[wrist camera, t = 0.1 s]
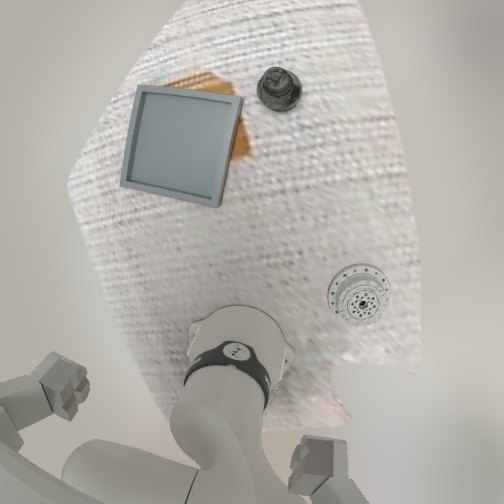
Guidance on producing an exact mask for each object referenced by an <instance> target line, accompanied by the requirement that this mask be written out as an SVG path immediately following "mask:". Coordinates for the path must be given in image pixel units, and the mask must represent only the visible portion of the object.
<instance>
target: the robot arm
mask: <svg viewBox="0 0 504 504" xmlns="http://www.w3.org/2000/svg"><path fill="white" fill-rule="evenodd" d="M188 332H189V344H190V347H189V349H188V352H187V356H188V357H189V369H188V371H187V373H186V377H185V380H184V388H183V390H182V392H181V394H180V396H179V398H178V400H177V402H176V404H175V406H174V408H173V410H172V413H171V417H170V427H171V432H172V434H173V437H174V438H175V440H176V442H177V444H178V445H179V446H180V448H181V449H182V450H183V452H184V453H186V454H187V455H188V456H189V457H190V458H191V459H192V460H194V461H195V462H196V463H197V464H198V465H199V466H200V467H201V468H202V469H197V468H193V467H190V466H186V465H183V464H180V463H177V462H174V461H171V460H169V459H166V458H163V457H160V456H157V455H154V454H152V453H149V452H146V451H144V450H141V449H139V448H134V447H130V446H126V445H122V444H118V443H113V442H108V441H105V440H100V439H94V440H91V441H88V442H86V443H84V444H82V445H81V446H79V447H78V448H76V449H75V450H74V451H73V452H72V453H71V455H70V456H69V458H68V459H67V461H66V462H65V465H64V467H63V470H62V477H61V480H60V479H58V478H56V477H54V476H53V475H51V474H49V473H48V472H46V471H45V470H43V469H41V468H40V467H38V466H37V465H35V464H34V463H32V462H31V461H29V460H28V459H26V458H25V457H23V456H22V455H20V454H19V453H18V451H19V450H20V448H21V447H22V445H23V443H24V442H23V439H22V438H21V436H20V435H19V433H18V431H19V430H21V429H23V428H26V427H27V426H30V425H32V424H34V423H36V422H38V421H40V420H42V419H44V418H46V417H48V416H50V415H52V414H53V413H54V414H56V415H58V416H60V417H62V418H64V419H66V420H68V421H70V422H71V420H72V418H73V417H74V416H75V414H76V413H77V411H78V404H81V403H83V402H84V401H85V400H86V398H87V396H88V394H89V391H90V383H89V381H88V379H87V378H86V375H87V370H86V368H85V367H84V366H82V365H80V364H77V363H75V362H73V361H71V360H69V359H67V358H65V357H64V356H62V355H60V354H58V353H56V352H54V351H53V352H51V353H49V354H48V355H47V357H46V358H45V359H44V360H43V361H42V362H41V363H40V364H39V365H38V366H37V367H36V369H35V370H34V371H33V372H32V373H31V374H30V375H29V376H27V375H24V376H21V377H18V378H15V379H11V380H8V381H5V382H2V383H0V504H308V503H307V502H306V501H305V500H304V499H303V498H302V497H300V496H299V495H305V496H310V499H311V501H312V503H313V504H369V502H368V501H367V500H366V498H365V497H364V495H363V494H362V493H361V491H360V490H359V489H358V487H357V486H356V484H355V483H354V482H353V480H352V479H348V463H347V462H348V461H347V442H346V441H345V440H339V439H331V438H326V437H318V436H311V435H304V436H303V437H302V438H301V444H300V445H297V446H296V448H295V450H294V453H293V455H292V460H291V466H290V468H291V470H292V471H293V473H292V475H291V476H290V477H289V483H288V487H287V486H286V485H285V484H284V483H283V482H282V481H281V480H280V479H279V477H278V476H277V475H276V474H275V472H274V471H273V469H272V468H271V466H270V464H269V463H268V461H267V459H266V457H265V455H264V452H263V449H262V445H261V426H262V416H263V411H264V410H265V408H266V406H267V403H268V404H269V403H271V402H272V401H273V398H274V395H275V392H273V390H275V391H277V390H278V388H279V385H280V384H279V383H278V382H279V381H281V379H282V377H283V375H284V374H285V372H286V371H287V369H288V368H289V366H290V365H291V363H292V362H293V360H294V358H295V351H294V349H293V348H292V347H291V346H290V345H289V344H288V343H286V341H285V339H284V337H283V335H282V332H281V330H280V328H279V327H278V325H277V324H276V323H275V321H274V320H273V319H272V318H270V317H269V316H268V315H266V314H265V313H263V312H261V311H259V310H257V309H254V308H251V307H247V306H229V307H225V308H222V309H219V310H217V311H215V312H214V313H213V314H211V315H210V316H209V317H208V318H206V319H205V320H202V321H197V322H194V323H192V324H191V325H190V327H189V330H188ZM285 359H286V361H285ZM297 494H298V495H297Z"/></svg>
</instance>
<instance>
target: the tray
mask: <svg viewBox="0 0 504 504" xmlns="http://www.w3.org/2000/svg"><path fill="white" fill-rule="evenodd" d="M243 101H244V100H243V99H242V98H241V97H236V96H231V95H224V94H218V93H211V92H204V91H197V90H188V89H180V88H170V87H160V86H147V85H138V87H137V91H136V95H135V100H134V104H133V109H132V114H131V119H130V124H129V129H128V135H127V141H126V146H125V152H124V159H123V165H122V172H121V179H120V186H121V187H125V188H130V189H135V190H139V191H144V192H148V193H153V194H157V195H162V196H166V197H171V198H175V199H179V200H184V201H188V202H192V203H196V204H201V205H205V206H209V207H213V208H217V207H219V206H220V205H221V201H222V196H223V191H224V186H225V181H226V176H227V172H228V167H229V162H230V158H231V153H232V149H233V144H234V140H235V135H236V131H237V126H238V122H239V118H240V113H241V109H242V105H243Z"/></svg>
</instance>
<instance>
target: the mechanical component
mask: <svg viewBox="0 0 504 504" xmlns="http://www.w3.org/2000/svg"><path fill="white" fill-rule="evenodd" d="M365 268H366V269H365ZM343 274H345V275H343ZM328 300H329V305H330V308H331V310H332V312H333V313H334V315H335V316H336V317H337V318H338V319H340V320H342V321H343V322H345V323H349V324H352V325H356V326H357V327H358V326H363V325H371V323H373V322H376V320H377V319H379V318H381V315H382V314H383V312H384V310H385V309H386V307H387V305H388V304H389V300H390V286H389V282H388V280H387V279H386V277H385V276H384V274H383V273H382V272H381V271H380V270H379V269H377V268H376V267H374V266H371V265H367V264H355V265H352V266H349V267H346V268H345V269H343V270H342V271H341V272H339V273H338V274H337V275H336V276H335V277H334V279H333V281H332V282H331V284H330V287H329V292H328ZM365 301H366V302H365ZM360 302H362V304H359V303H360ZM363 302H364V303H363Z"/></svg>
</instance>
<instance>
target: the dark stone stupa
mask: <svg viewBox="0 0 504 504" xmlns="http://www.w3.org/2000/svg"><path fill="white" fill-rule="evenodd" d="M257 93H258V97H259V98H260V100H261V102H262V103H263V104H264V105H265V106H267V107H269V108H271V109H272V110H275V111H287V110H290V109H292V108H293V107H294V106H295V105H296V104H297V102H298V101H299V99H300V97H301V94H302V86H301V83H300V81H299V79H298V77H297V76H296V75H295V74H293V73H292V72H290V71H288V70H284V69H282V68H280V67H271V68H269V69H268V70H266V72H265V73H264V75H263V76H262V77H261V79H260V80H259V82H258V85H257Z"/></svg>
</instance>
